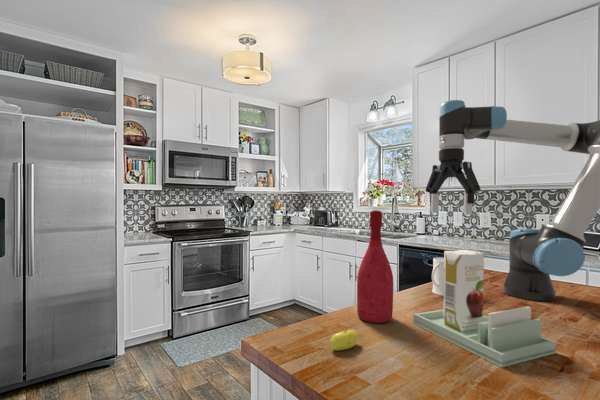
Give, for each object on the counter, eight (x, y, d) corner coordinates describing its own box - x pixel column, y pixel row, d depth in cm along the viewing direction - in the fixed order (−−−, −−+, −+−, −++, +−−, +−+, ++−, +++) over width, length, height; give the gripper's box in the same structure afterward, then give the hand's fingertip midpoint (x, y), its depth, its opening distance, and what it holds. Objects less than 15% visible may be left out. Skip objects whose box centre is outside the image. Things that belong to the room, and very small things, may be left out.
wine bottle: (399, 318, 93) (400, 210, 93) (381, 327, 86) (383, 211, 85) (368, 309, 99) (369, 209, 99) (349, 318, 92) (351, 210, 92)
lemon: (325, 348, 73) (325, 331, 73) (352, 340, 78) (352, 323, 78) (337, 356, 70) (337, 337, 70) (364, 347, 74) (365, 329, 74)
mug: (440, 299, 111) (441, 263, 111) (420, 292, 119) (421, 259, 119) (463, 294, 117) (464, 260, 117) (442, 288, 124) (443, 256, 124)
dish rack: (460, 315, 95) (460, 284, 95) (555, 353, 72) (556, 311, 72) (413, 323, 89) (413, 289, 89) (501, 367, 66) (502, 322, 66)
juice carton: (438, 323, 86) (439, 250, 86) (462, 319, 90) (463, 248, 90) (462, 334, 79) (463, 254, 79) (487, 329, 83) (489, 253, 83)
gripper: (415, 152, 120) (414, 211, 120) (476, 142, 97) (475, 215, 97) (431, 154, 123) (430, 211, 123) (494, 144, 100) (493, 215, 100)
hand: (450, 213), depth 110 cm, fingers open, 13 cm apart
